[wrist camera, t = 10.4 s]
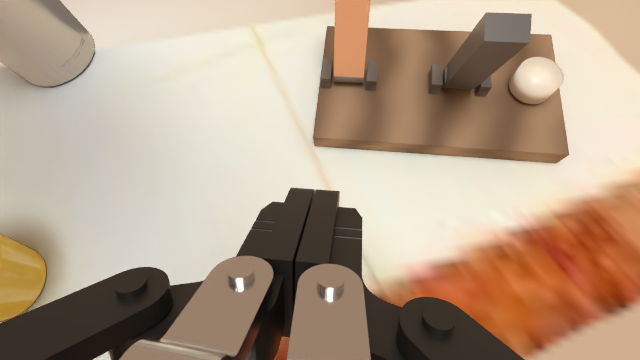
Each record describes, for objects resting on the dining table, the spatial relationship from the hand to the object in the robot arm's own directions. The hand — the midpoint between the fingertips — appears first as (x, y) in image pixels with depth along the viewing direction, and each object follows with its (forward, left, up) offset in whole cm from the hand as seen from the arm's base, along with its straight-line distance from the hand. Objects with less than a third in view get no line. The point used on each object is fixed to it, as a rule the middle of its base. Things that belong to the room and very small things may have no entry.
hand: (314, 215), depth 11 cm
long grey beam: (+5, +22, -19) cm, 29 cm away
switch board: (+3, +21, -22) cm, 31 cm away
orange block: (-5, +19, -19) cm, 27 cm away
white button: (+12, +24, -20) cm, 33 cm away
